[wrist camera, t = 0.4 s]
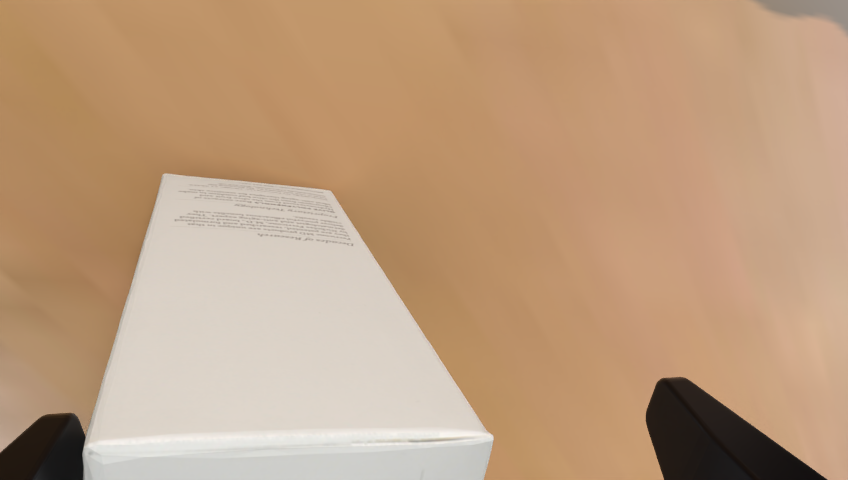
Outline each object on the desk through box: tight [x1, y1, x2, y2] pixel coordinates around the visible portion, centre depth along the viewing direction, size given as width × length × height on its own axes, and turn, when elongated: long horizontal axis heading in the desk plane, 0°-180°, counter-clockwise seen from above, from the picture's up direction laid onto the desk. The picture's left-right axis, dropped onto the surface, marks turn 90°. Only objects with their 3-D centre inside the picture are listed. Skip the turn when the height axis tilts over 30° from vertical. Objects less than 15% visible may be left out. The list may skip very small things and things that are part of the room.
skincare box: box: [82, 174, 493, 480], centre depth 17 cm, size 8×7×16 cm
